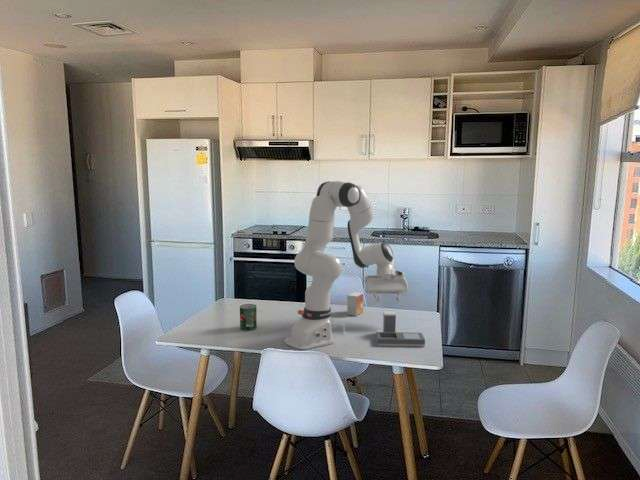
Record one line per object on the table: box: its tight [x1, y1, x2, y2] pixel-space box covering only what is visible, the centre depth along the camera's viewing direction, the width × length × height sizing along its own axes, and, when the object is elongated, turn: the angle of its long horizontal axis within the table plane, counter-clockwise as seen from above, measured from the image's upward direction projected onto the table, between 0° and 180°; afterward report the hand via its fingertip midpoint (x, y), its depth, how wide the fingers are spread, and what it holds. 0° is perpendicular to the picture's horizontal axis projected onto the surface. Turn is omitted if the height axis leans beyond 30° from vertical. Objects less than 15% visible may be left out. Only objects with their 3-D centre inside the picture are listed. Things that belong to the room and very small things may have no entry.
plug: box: [382, 310, 397, 332], centre depth 222 cm, size 5×5×10 cm
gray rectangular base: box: [375, 331, 426, 347], centre depth 212 cm, size 20×9×4 cm, turn 88°
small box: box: [346, 291, 364, 317], centre depth 255 cm, size 8×6×10 cm
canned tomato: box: [239, 303, 258, 332], centre depth 231 cm, size 8×8×11 cm
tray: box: [376, 329, 400, 332], centre depth 223 cm, size 10×10×1 cm
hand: (387, 300), depth 230 cm, fingers open, 8 cm apart
